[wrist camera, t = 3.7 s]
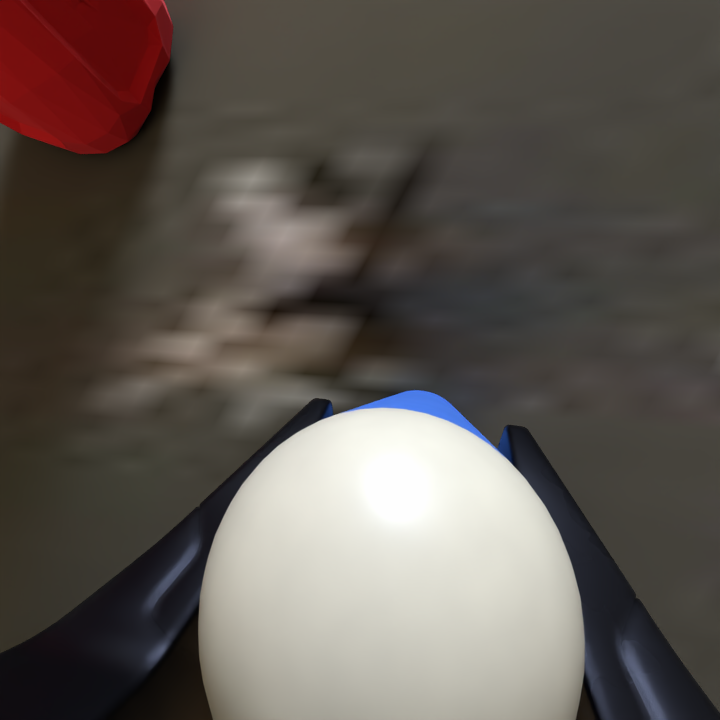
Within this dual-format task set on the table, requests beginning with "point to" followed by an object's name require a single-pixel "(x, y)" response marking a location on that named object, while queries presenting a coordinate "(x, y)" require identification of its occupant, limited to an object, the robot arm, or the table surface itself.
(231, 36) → the table surface
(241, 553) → the white topped blue rod
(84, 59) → the water bottle
